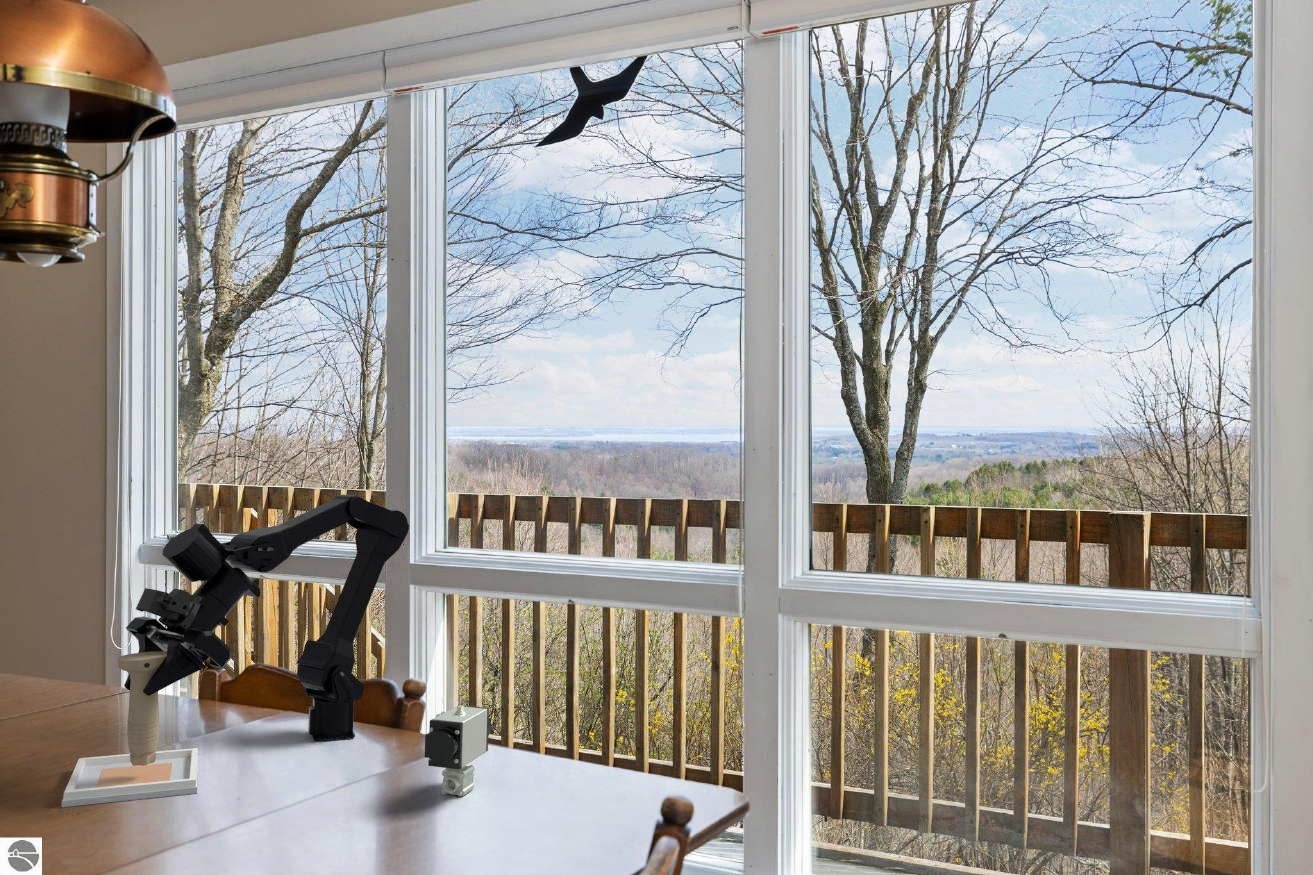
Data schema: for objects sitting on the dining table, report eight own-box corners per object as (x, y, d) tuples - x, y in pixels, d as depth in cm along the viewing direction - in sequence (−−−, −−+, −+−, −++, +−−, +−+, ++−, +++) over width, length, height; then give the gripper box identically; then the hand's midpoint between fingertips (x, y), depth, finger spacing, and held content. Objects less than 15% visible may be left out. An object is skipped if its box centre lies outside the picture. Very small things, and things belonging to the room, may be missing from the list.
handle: (115, 762, 139) (116, 655, 139) (165, 754, 143) (166, 649, 143) (119, 772, 135) (120, 662, 135) (171, 763, 139) (172, 656, 139)
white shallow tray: (199, 759, 150) (199, 747, 150) (196, 793, 136) (197, 779, 136) (77, 770, 144) (77, 757, 144) (61, 807, 129) (62, 793, 129)
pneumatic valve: (491, 781, 144) (493, 697, 144) (453, 808, 133) (456, 717, 133) (456, 776, 145) (458, 694, 146) (416, 803, 134) (418, 713, 134)
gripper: (141, 561, 148) (60, 647, 138) (213, 572, 137) (131, 666, 128) (190, 608, 154) (116, 693, 145) (262, 622, 143) (188, 714, 134)
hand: (135, 691), depth 138 cm, fingers closed on handle, 4 cm apart
